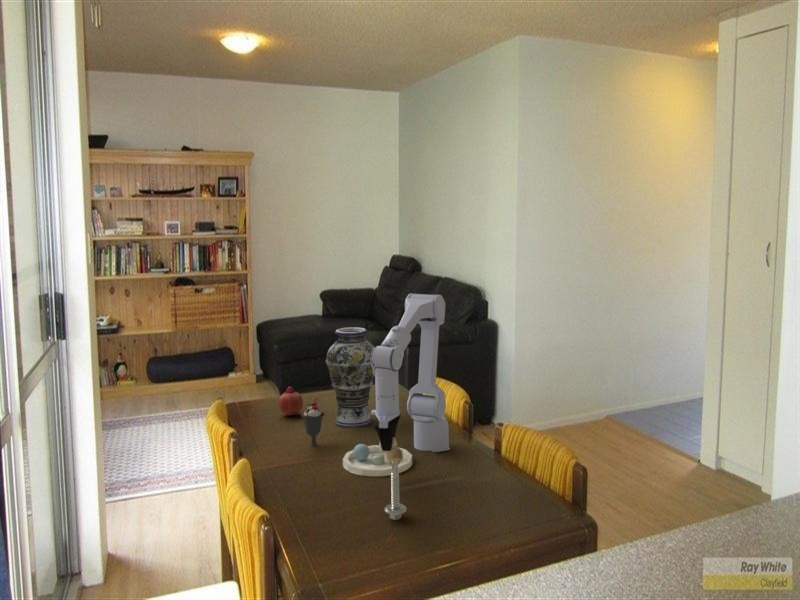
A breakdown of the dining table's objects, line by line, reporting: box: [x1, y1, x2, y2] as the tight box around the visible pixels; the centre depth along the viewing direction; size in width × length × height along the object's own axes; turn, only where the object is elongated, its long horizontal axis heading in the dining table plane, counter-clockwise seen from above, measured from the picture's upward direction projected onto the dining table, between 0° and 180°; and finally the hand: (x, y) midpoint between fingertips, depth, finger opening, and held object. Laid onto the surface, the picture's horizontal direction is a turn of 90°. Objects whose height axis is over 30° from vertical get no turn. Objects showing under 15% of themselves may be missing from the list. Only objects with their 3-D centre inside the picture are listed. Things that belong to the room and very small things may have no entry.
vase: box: [325, 326, 376, 429], centre depth 211 cm, size 17×17×30 cm
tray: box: [342, 444, 413, 477], centre depth 176 cm, size 18×18×3 cm
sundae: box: [300, 397, 326, 448], centre depth 189 cm, size 7×7×15 cm
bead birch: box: [378, 437, 398, 453], centre depth 166 cm, size 4×4×4 cm
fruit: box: [277, 385, 304, 417], centre depth 220 cm, size 8×8×10 cm
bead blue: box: [352, 443, 370, 461], centre depth 177 cm, size 4×4×4 cm
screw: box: [384, 461, 407, 521], centre depth 145 cm, size 13×5×5 cm
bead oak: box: [386, 446, 403, 463], centre depth 175 cm, size 4×4×4 cm
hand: (388, 446), depth 166 cm, fingers closed on bead birch, 4 cm apart
